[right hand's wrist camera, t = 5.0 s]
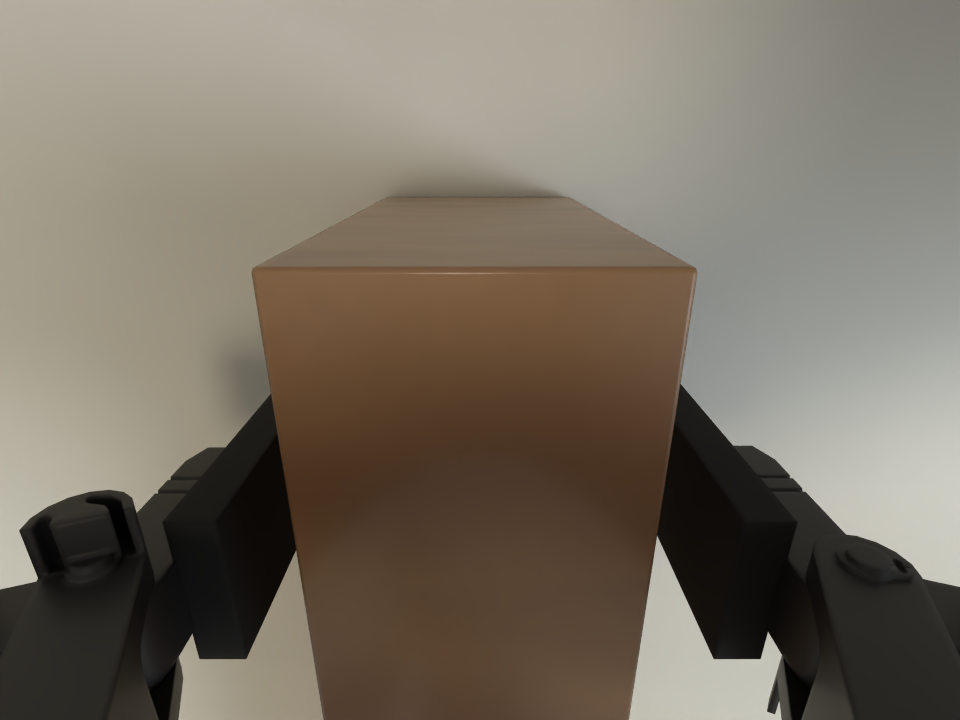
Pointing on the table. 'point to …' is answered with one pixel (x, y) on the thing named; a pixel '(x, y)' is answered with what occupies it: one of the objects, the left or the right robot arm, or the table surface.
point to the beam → (475, 451)
